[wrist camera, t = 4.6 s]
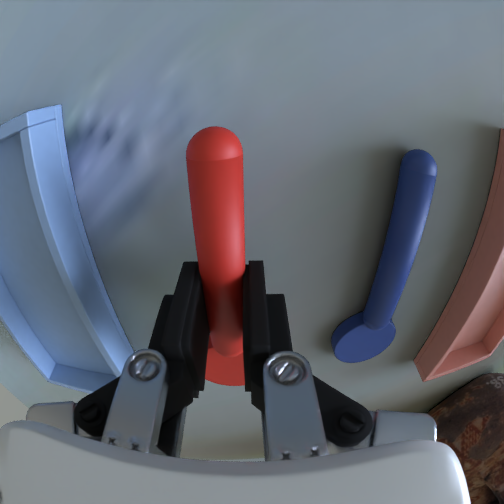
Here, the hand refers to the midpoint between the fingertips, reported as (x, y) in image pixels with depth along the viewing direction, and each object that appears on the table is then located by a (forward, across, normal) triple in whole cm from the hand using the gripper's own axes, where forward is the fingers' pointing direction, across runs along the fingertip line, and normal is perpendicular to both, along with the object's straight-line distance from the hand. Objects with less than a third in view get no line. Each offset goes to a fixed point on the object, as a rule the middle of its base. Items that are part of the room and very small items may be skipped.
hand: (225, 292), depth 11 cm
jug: (+2, -33, +27) cm, 42 cm away
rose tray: (+2, -19, +1) cm, 19 cm away
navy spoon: (+2, -8, +1) cm, 8 cm away
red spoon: (0, 0, 0) cm, 0 cm away
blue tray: (+2, +11, +1) cm, 11 cm away
